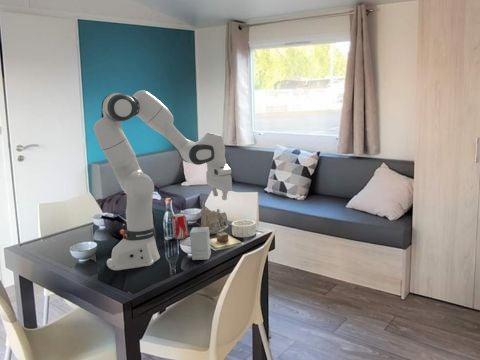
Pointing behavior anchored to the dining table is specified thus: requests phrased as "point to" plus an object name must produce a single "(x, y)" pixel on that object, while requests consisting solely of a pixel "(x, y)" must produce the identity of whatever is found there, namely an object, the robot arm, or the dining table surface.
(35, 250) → the dining table surface
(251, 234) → the pipe section
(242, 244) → the mat
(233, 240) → the lid
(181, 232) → the soda can
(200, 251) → the supplement box
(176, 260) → the dining table surface
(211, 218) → the ceramic cottage
